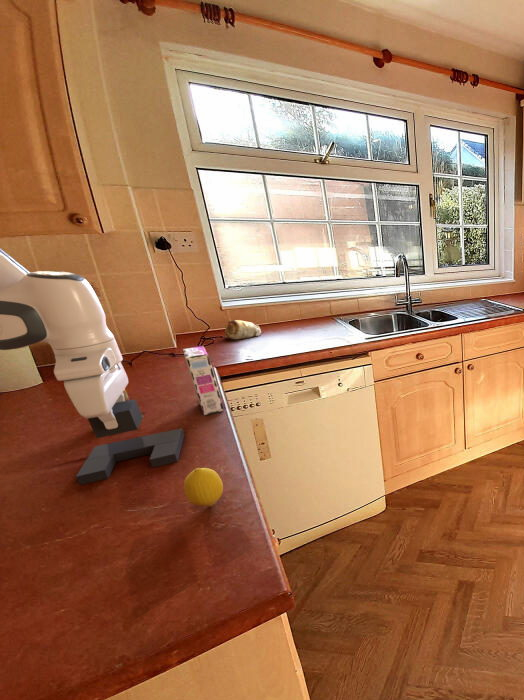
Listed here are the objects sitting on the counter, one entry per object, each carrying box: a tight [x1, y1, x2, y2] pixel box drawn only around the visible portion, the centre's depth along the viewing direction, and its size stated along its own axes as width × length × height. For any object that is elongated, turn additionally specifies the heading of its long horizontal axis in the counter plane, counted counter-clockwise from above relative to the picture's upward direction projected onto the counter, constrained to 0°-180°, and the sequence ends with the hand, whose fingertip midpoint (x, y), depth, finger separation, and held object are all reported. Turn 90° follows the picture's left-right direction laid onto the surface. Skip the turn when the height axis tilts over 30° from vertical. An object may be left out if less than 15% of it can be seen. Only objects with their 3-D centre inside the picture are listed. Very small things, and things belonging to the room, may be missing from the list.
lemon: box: [183, 467, 224, 507], centre depth 76 cm, size 6×6×8 cm
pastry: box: [224, 319, 262, 340], centre depth 187 cm, size 14×12×8 cm
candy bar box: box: [182, 345, 225, 416], centre depth 115 cm, size 11×5×16 cm, turn 40°
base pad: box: [75, 427, 185, 486], centre depth 93 cm, size 16×14×2 cm
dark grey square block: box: [87, 398, 144, 439], centre depth 87 cm, size 6×6×4 cm
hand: (117, 420), depth 87 cm, fingers closed on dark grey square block, 6 cm apart
